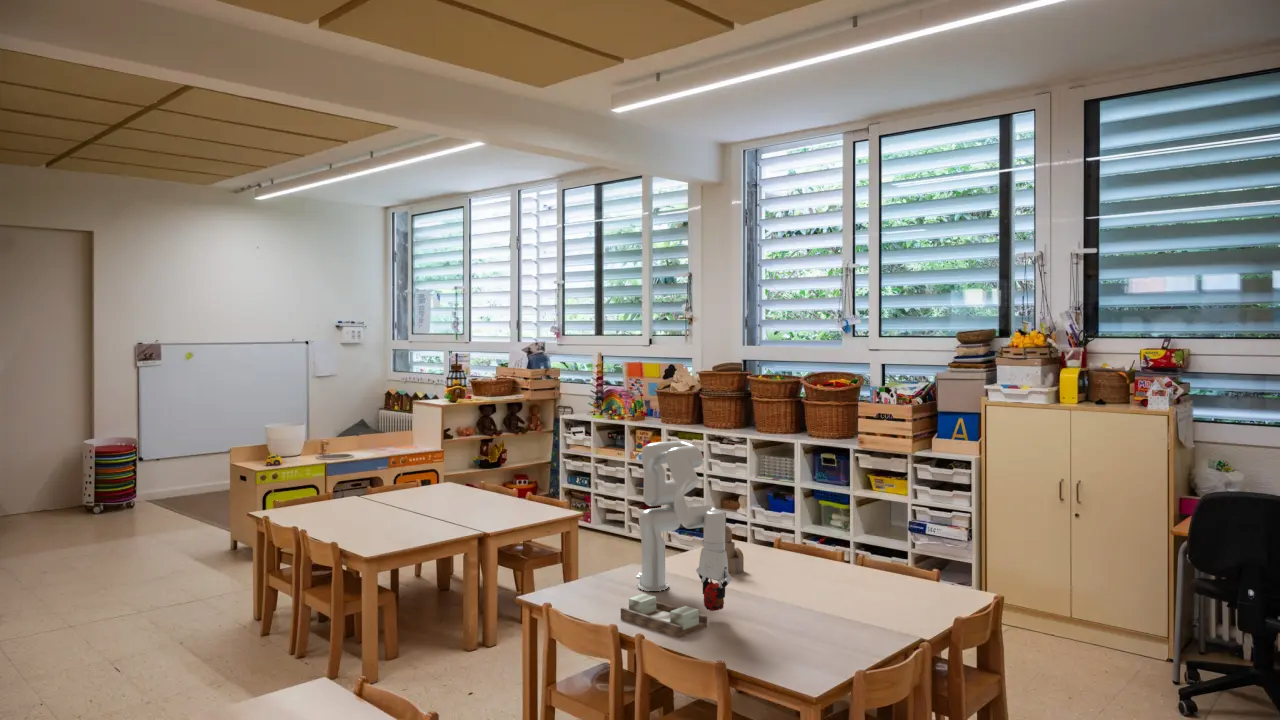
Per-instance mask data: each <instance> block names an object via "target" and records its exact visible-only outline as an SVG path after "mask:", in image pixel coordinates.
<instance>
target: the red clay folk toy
mask: <svg viewBox="0 0 1280 720" xmlns="http://www.w3.org/2000/svg"><path fill="white" fill-rule="evenodd" d="M709 582H710V583H709V585H708V586H707V587H706V589H705V593H704V594H703V606H704V607H705V608H706V610H708V611H710V612H715V611H720V610H723V608H724V605H725V600H724V599H725V597H724V598H722V599H718V588H719V584H718V582H715V583H714V582H713V579H709Z"/></svg>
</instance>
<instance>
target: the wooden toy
mask: <svg viewBox="0 0 1280 720" xmlns="http://www.w3.org/2000/svg"><path fill="white" fill-rule="evenodd" d="M724 513H725V550H726V553H727V560H728V573H729V574H732V575H737V574H740V573H742V572H744V565H745V564H744V562H745V561H744V560H745V559H744V553H743V551H742V550H741V549H740V548H739V547H736V545H735V542H734V541H732V540H733V538H732V537H733V533H732V532H733V531H732V529H731V528H730V527H729V525H727V513H726V512H724Z"/></svg>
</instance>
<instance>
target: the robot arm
mask: <svg viewBox="0 0 1280 720" xmlns="http://www.w3.org/2000/svg"><path fill="white" fill-rule="evenodd" d="M703 461H704V457H703V453H702V451H701V449H700V448H699V447H698V446H696V445H693V444H692V443H688V442H685V441H684V440H683V441H682V440H674V441H673V440H672V441H658V442H651V443H648V444H646V445H644V446H643V448H642V450H641V464H642V468H643V502H644V503H645V505H646V506H649V507H653V508H648V509H645V510H643V511H642V512H640V514H639V516H638V525H639V530H640V538H641V572H639V573H637V575H636V576H635V579H636V580H639V583H638V584H637V588H638V589H639V590H640V589H641V590H640V591H643V590H644V591H643V592H649V591H659V592H661V591H660V590H664V591H666V590H665V589H667V588H668V587H669V588H670V583H669V582H667V581H666V543H665V539H664V538H663V537H662V536H661V533H664V532H671V531H675V530H678V529H679V528H680V526H682V527H684V528H685V529H688V530H689V529H690V530H691V529H697V528H698V529H699V528H703V539H702V540H701V544H703V547H702V548H701V550H700V555H699V562H698V563H699V564H698V567H697V568H696V569H695V571H696V573H697V575H698V577H699V579H700V583H702V595H704V593H705V589H706V587H707V586H708V585H709V583H710V579H711V580H712V581H717V583H718V584H719V588H718V599H722V598H724V599H725V597H726V587H727V586H728V585H729V584H730V583H731V582H732V581H733V577H732V576H731V573H729V572H728V560H727V553H726V550H725V512H724V511H722V510H719V509H717V508H716V507H715V506H713V505H710V504H709V505H708V504H706V505H697V506H690V507H689V506H688V503H687V502H686V499H685V495H686V494H687V493H689V492H690V491H692V490H694V489H695V488H696V487H698V484H699V481H700V480H699V477H698V475H697V473H696V470H695V469H696V468H700V467H701V466H702V464H703ZM663 464H666V465H667V466H668V469H669V472H670V474H671V476H672V478H673V480H672V479H671V480H666V470H665V467H664V465H663ZM658 506H665V507H658ZM654 507H657V508H654ZM669 588H668V589H669ZM668 589H667V590H668Z"/></svg>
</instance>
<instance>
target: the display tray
mask: <svg viewBox="0 0 1280 720" xmlns="http://www.w3.org/2000/svg"><path fill="white" fill-rule="evenodd" d="M620 619H623V620H626V621H629V622H631V623H635V624H637V625H640V626H643V627H647V628H649V629H652V630H656V631H658V632H661V633H664V634H666V635H667V634H668V635H670V636H673V637H677V638H682V637H684V636H687V635H690V634H693V633H694V632H697V631H700V630H702V629H705V628H706V627H708V616H707V615H703V614H701V613H700V610H699V609H698V608H695V607H692V606H688V605H684V606H681V607H678V606H677V607H676V606H673V605H669V604H666V603H663V602H660V601H657V596H655V595H651V594H647V593H641V594H639V595H635V596H632V597H629V598H628V608H625V607H621V608H620Z"/></svg>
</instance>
